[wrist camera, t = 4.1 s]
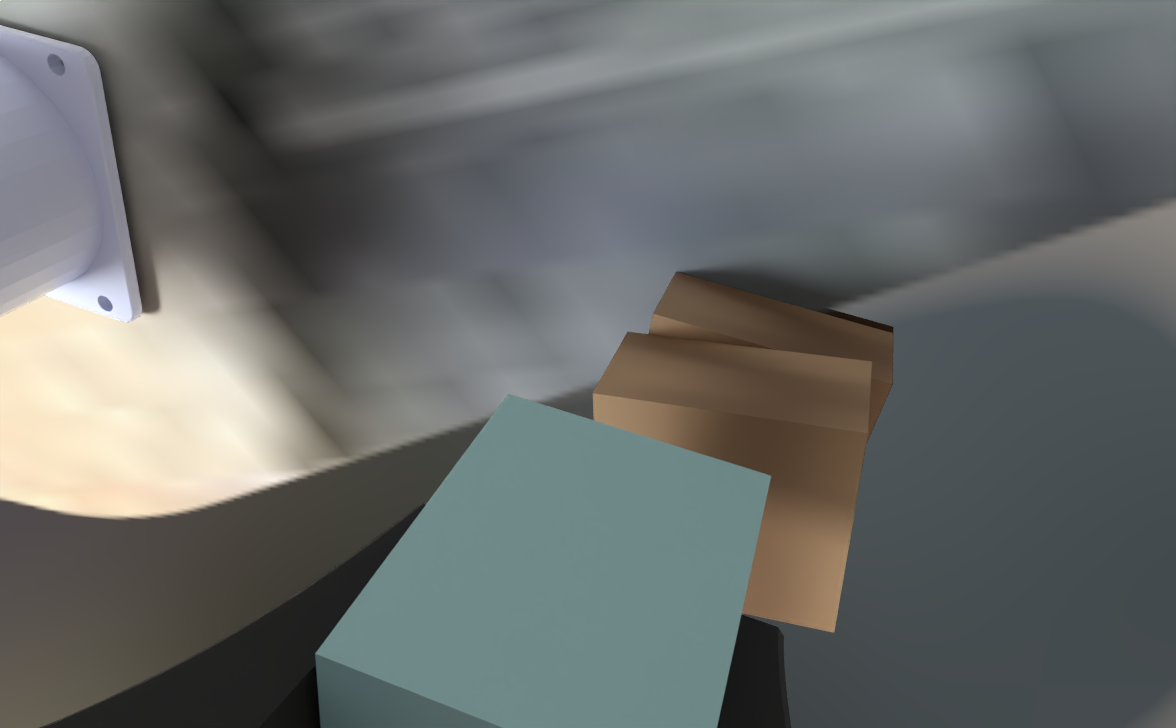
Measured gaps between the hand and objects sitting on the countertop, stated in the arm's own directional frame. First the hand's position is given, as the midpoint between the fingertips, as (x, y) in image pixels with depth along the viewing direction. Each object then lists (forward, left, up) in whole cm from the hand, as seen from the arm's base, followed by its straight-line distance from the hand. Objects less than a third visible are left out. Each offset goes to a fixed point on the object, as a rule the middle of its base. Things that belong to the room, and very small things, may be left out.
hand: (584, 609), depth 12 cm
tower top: (+1, -2, -7) cm, 8 cm away
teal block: (0, 0, -2) cm, 2 cm away
